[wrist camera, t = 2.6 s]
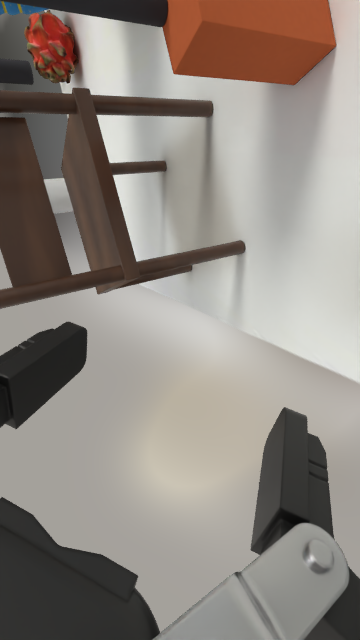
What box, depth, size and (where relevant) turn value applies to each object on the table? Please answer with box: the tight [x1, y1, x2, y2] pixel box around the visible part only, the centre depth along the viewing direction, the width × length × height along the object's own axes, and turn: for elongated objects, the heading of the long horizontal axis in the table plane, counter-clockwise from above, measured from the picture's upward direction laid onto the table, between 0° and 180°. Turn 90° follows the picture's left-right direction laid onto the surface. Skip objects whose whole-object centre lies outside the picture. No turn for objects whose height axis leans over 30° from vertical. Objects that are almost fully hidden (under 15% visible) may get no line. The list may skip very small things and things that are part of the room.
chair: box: [0, 88, 245, 309], centre depth 26 cm, size 12×15×27 cm
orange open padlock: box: [0, 0, 336, 85], centre depth 16 cm, size 8×6×19 cm
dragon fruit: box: [24, 10, 78, 83], centre depth 50 cm, size 8×8×12 cm
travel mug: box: [44, 178, 73, 213], centre depth 58 cm, size 6×7×20 cm
